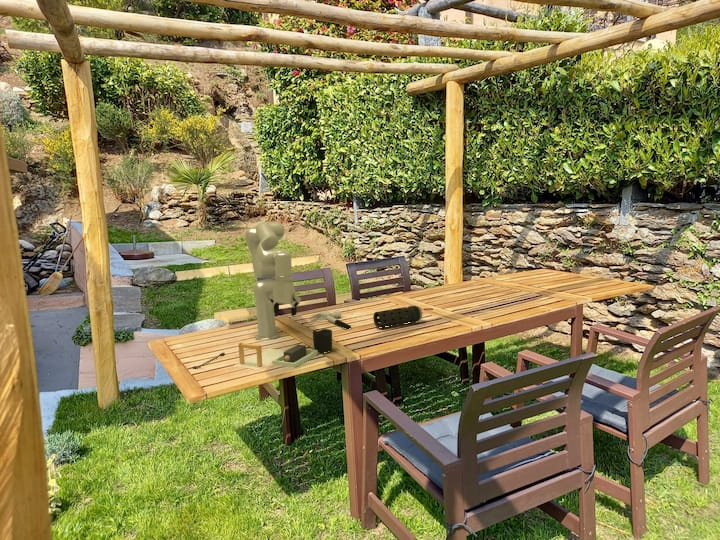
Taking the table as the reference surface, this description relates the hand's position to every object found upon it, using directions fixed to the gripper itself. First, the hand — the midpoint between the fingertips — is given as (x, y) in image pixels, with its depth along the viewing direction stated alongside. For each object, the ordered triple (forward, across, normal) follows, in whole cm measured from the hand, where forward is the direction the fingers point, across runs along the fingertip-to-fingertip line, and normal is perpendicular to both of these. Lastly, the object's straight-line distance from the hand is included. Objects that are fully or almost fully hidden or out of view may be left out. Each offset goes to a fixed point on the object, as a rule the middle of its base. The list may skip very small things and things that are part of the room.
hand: (285, 314), depth 222 cm
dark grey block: (+20, +8, -4) cm, 21 cm away
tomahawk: (+22, -28, -20) cm, 41 cm away
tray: (+20, +8, -4) cm, 22 cm away
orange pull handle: (+20, -7, -18) cm, 28 cm away
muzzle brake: (+22, +31, +68) cm, 78 cm away
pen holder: (+21, +13, +12) cm, 27 cm away
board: (+21, -7, -9) cm, 24 cm away
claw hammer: (+23, -5, +57) cm, 62 cm away
